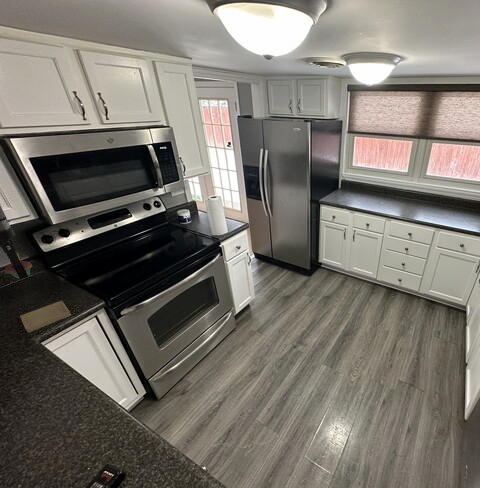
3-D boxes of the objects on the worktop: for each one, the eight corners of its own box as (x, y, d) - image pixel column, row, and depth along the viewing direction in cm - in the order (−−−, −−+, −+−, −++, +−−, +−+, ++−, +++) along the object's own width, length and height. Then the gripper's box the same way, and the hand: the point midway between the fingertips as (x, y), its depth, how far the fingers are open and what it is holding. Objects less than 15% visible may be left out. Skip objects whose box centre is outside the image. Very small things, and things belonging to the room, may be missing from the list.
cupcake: (26, 270, 128) (15, 248, 123) (40, 272, 127) (30, 250, 121) (4, 279, 120) (-9, 256, 115) (18, 282, 119) (6, 258, 114)
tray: (21, 319, 117) (19, 315, 116) (63, 303, 128) (61, 300, 127) (27, 332, 110) (25, 329, 110) (71, 315, 121) (69, 311, 120)
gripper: (16, 233, 111) (38, 278, 120) (7, 221, 122) (28, 264, 131) (-12, 239, 105) (14, 286, 115) (-19, 226, 116) (6, 270, 126)
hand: (22, 274), depth 123 cm, fingers closed on cupcake, 8 cm apart
